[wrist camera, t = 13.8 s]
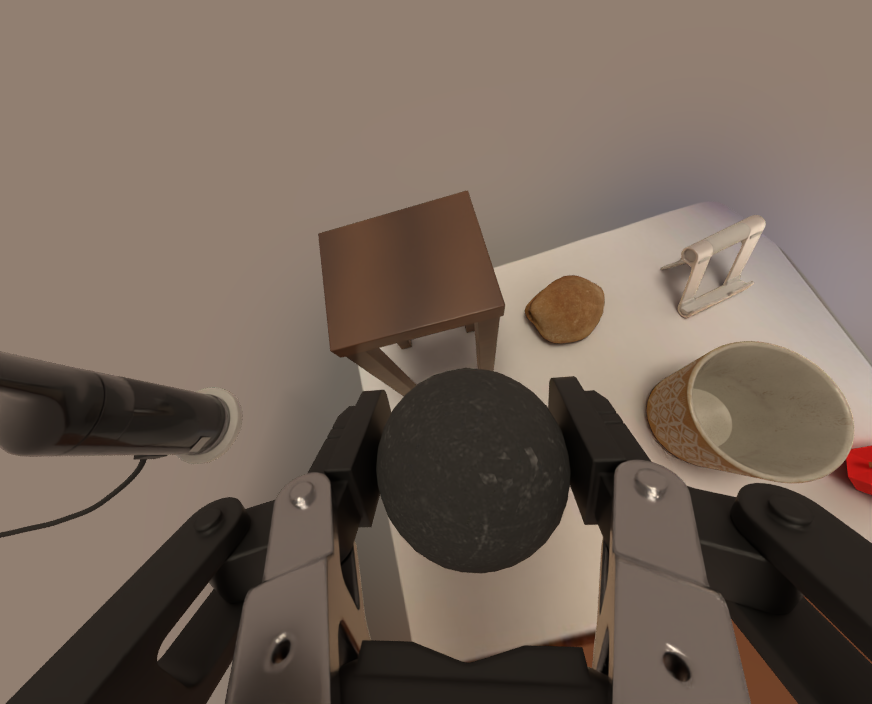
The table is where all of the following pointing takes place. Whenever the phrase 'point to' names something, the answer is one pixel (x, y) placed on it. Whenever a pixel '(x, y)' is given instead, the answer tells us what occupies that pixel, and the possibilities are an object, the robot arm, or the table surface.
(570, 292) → the stone
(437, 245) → the walnut stand
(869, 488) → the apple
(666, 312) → the table surface
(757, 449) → the planter
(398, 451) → the light bulb
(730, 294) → the tablet stand
